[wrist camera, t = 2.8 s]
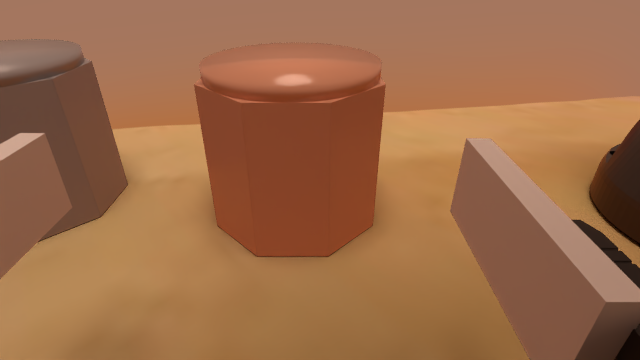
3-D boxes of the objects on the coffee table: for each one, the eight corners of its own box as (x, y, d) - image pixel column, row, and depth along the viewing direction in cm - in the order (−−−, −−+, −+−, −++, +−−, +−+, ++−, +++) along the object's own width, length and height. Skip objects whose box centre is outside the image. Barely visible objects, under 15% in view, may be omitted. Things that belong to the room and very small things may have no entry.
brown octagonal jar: (143, 166, 31) (110, 39, 26) (77, 245, 23) (8, 79, 18) (21, 166, 31) (-36, 39, 26) (-92, 245, 23) (-209, 78, 18)
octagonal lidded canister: (361, 172, 31) (370, 42, 26) (379, 256, 22) (397, 85, 17) (237, 172, 31) (221, 42, 26) (205, 256, 22) (172, 85, 17)
